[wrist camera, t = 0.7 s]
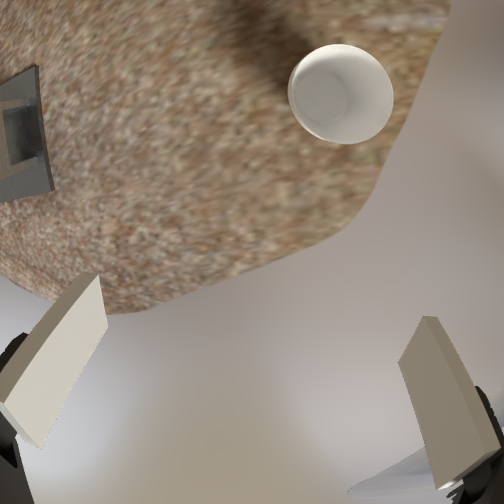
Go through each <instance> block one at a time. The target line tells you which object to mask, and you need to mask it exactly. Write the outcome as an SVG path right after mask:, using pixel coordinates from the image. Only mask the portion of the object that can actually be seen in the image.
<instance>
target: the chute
mask: <svg viewBox="0 0 504 504" xmlns="http://www.w3.org/2000/svg"><path fill="white" fill-rule="evenodd" d="M53 190H55V188H54V183H53V178H52V174H51V169H50V163H49V158H48V152H47V146H46V140H45V133H44V126H43V117H42V108H41V98H40V85H39V67H36V66H34V67H32V68H31V69H29V70H27V71H25V72H23V73H21V74H19V75H18V76H16V77H14V78H12V79H11V80H9V81H7V82H6V83H4V84H2V85H1V86H0V203H3V202H7V201H11V200H15V199H19V198H23V197H28V196H32V195H37V194H41V193H46V192H51V191H53Z"/></svg>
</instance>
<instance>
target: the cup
mask: <svg viewBox="0 0 504 504" xmlns="http://www.w3.org/2000/svg"><path fill="white" fill-rule="evenodd" d="M288 100H289V104H290V107H291V110H292V112H293V114H294V116H295V118H296V119H297V120H298V122H299V123H300V124H301V125H302V126H303V127H304V128H305V129H306V130H307V131H308V132H310V133H311V134H313V135H314V136H316V137H318V138H321V139H323V140H327V141H331V142H334V143H339V144H355V143H360V142H363V141H366V140H368V139H370V138H372V137H373V136H375V135H376V134H377V133H379V132H380V131H381V130H382V129H383V127H384V126H385V125H386V123H387V122H388V120H389V118H390V115H391V113H392V109H393V102H394V95H393V88H392V84H391V81H390V79H389V76H388V74H387V73H386V71H385V69H384V68H383V67H382V65H381V64H380V63H379V62H378V61H377V60H376V59H375V58H374V57H373V56H371V55H370V54H368V53H367V52H365V51H363V50H361V49H359V48H356V47H353V46H349V45H343V44H334V45H327V46H324V47H321V48H318V49H316V50H314V51H313V52H311V53H310V54H308V55H307V56H305V57H304V58H303V59H302V60H301V61H300V62H299V63H298V64H297V65H296V66H295V68H294V70H293V71H292V73H291V76H290V79H289V83H288Z"/></svg>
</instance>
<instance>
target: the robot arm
mask: <svg viewBox="0 0 504 504" xmlns="http://www.w3.org/2000/svg"><path fill="white" fill-rule="evenodd" d="M107 328H108V323H107V319H106V314H105V309H104V304H103V298H102V293H101V287H100V282H99V275H98V274H94V273H89V272H84V271H83V272H82V273H81V274H80V275H79V276H78V277H77V278H76V279H75V280H74V281H73V283H72V284H71V285H70V286H69V287H68V288H67V289H66V290H65V292H64V293H63V294H62V295H61V296H60V297H59V298H58V300H57V301H56V302H55V303H54V304H53V306H52V307H51V308H50V309H49V310H48V311H47V313H46V314H45V315H44V316H43V318H42V319H41V320H40V321H39V323H38V324H37V325H36V326H35V327H34V329H33V330H32V331H31V333H30V334H26V333H24V332H23V333H22V334H20V335H19V336H17V337H16V338H14V339H13V340H12V341H11V342H10V344H9V345H8V346H7V348H6V349H5V352H3V353H2V354H1V355H0V504H34V501H33V498H32V495H31V492H30V489H29V486H28V482H27V479H26V476H25V472H24V468H23V465H22V461H21V457H20V453H19V448H18V444H17V441H16V439H15V436H16V434H17V433H18V434H19V435H20V436H21V437H22V438H23V440H24V441H26V442H27V443H29V444H31V445H33V446H35V447H37V448H39V449H42V448H43V446H44V443H45V441H46V439H47V437H48V435H49V433H50V431H51V429H52V427H53V425H54V423H55V421H56V419H57V417H58V415H59V413H60V411H61V409H62V407H63V405H64V403H65V402H66V400H67V398H68V396H69V394H70V392H71V390H72V388H73V387H74V385H75V383H76V381H77V379H78V377H79V376H80V374H81V372H82V370H83V369H84V367H85V365H86V363H87V361H88V360H89V358H90V356H91V355H92V353H93V351H94V350H95V348H96V346H97V344H98V343H99V341H100V339H101V338H102V336H103V334H104V333H105V331H106V329H107ZM398 364H399V367H400V369H401V372H402V374H403V378H404V381H405V383H406V386H407V389H408V392H409V395H410V398H411V401H412V404H413V407H414V411H415V414H416V417H417V420H418V423H419V427H420V430H421V433H422V436H423V440H424V444H425V447H426V451H427V455H428V458H429V462H430V466H431V470H432V474H433V478H434V482H435V487H436V490H439V489H443V488H446V487H449V486H452V485H454V484H455V483H457V482H458V481H460V480H461V479H463V482H464V484H462V485H460V486H459V487H458V488H456V489H455V490H453V491H452V492H450V493H449V494H448V495H447V498H449V497H451V496H453V495H454V494H456V493H457V494H456V496H454V497H453V498H452V500H453V503H452V504H504V435H503V432H502V430H501V428H500V425H499V423H498V421H497V418H496V416H494V412H493V409H492V408H490V406H491V405H490V403H489V401H488V399H487V397H486V395H485V394H484V392H483V391H482V390H481V389H480V388H479V387H478V386H474V384H473V382H472V380H471V378H470V376H469V374H468V372H467V370H466V368H465V366H464V364H463V363H462V361H461V359H460V357H459V355H458V353H457V351H456V349H455V348H454V346H453V344H452V342H451V340H450V339H449V337H448V335H447V333H446V332H445V330H444V328H443V326H442V325H441V323H440V321H439V320H438V318H437V317H430V316H423V317H422V319H421V321H420V323H419V325H418V327H417V329H416V331H415V333H414V335H413V336H412V338H411V341H410V342H409V344H408V346H407V347H406V349H405V351H404V353H403V355H402V356H401V358H400V360H399V362H398Z"/></svg>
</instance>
